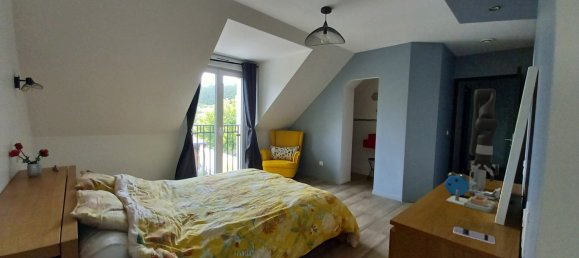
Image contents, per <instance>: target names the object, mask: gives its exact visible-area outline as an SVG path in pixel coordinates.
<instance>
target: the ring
mask: <svg viewBox="0 0 579 258" xmlns="http://www.w3.org/2000/svg"><path fill="white" fill-rule="evenodd" d="M472 197H473V198H472V199H471V204H474V205H478V206H482V207H487V203H488V201H489V199H488V198H484V197H480V196H476V195H475V196H472Z"/></svg>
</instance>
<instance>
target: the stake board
mask: <svg viewBox="0 0 579 258" xmlns="http://www.w3.org/2000/svg"><path fill="white" fill-rule="evenodd" d="M459 195H460V190H456V195H451V196H450V197H448V198H447V199H446V200H445V201H446V202H449V203H451V204H452V203H453V204H457V205H460V206H464V202H465V201H467V200H468V199H469V198H464V197H462V196H461V197H460V196H459Z"/></svg>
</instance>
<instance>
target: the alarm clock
mask: <svg viewBox="0 0 579 258" xmlns="http://www.w3.org/2000/svg"><path fill="white" fill-rule="evenodd" d="M468 181H469V176H468V175H467V174H465V173H461V174H457V173H456V172H453V171H452V172H451V171H450V172H449V173H448V174H447V179H445V182H444V187H445V189H446V190H447V192H448V193H449V194H451V195H452V196H456V190H460V195H459V197H460V196H461V197H462V196H464V195H466V194H467V193H469V192H468V191H469V189H470V184H469V182H468Z"/></svg>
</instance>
